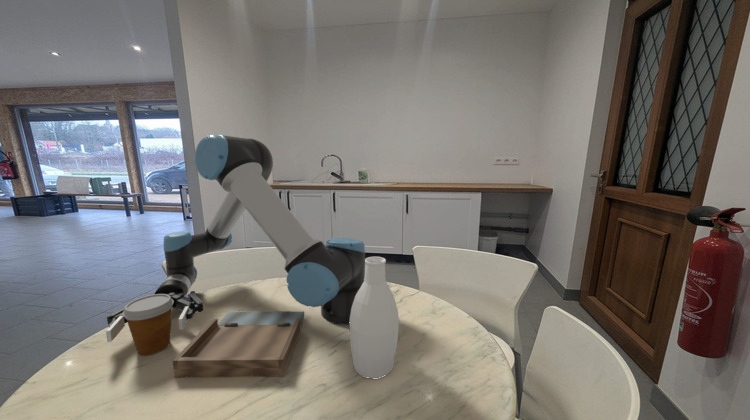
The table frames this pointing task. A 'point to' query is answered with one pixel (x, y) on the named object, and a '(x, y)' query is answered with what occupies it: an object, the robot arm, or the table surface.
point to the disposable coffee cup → (150, 322)
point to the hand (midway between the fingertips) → (146, 330)
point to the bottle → (374, 323)
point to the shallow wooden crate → (242, 346)
